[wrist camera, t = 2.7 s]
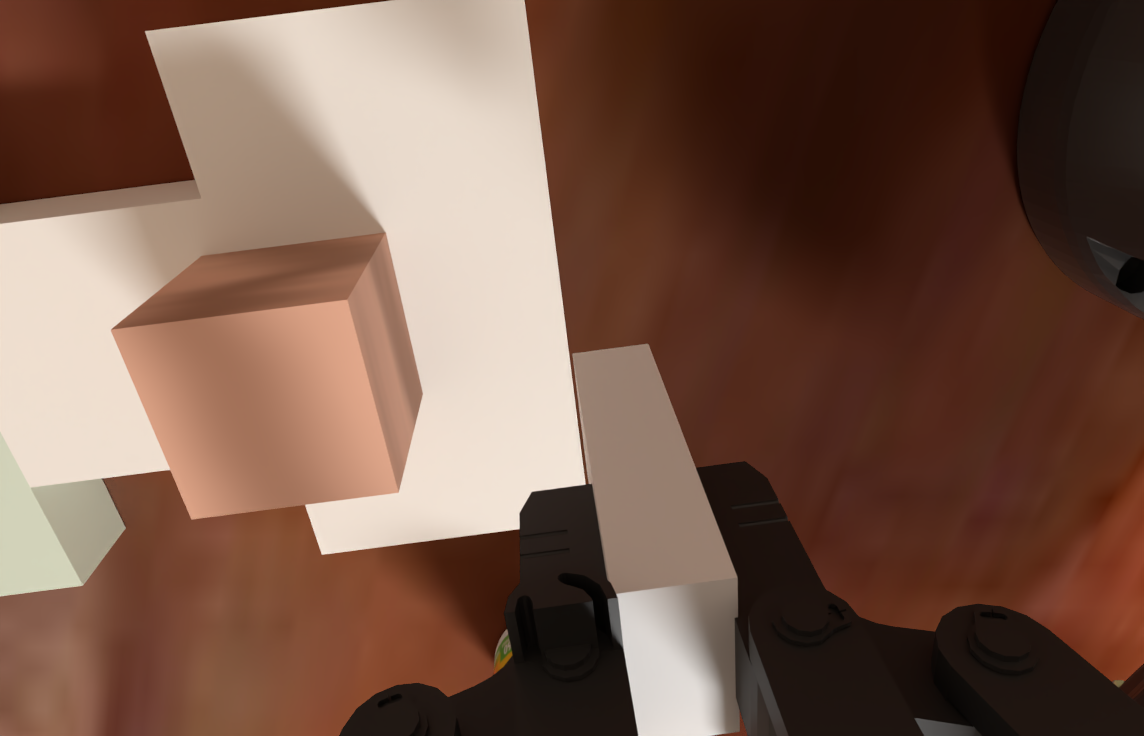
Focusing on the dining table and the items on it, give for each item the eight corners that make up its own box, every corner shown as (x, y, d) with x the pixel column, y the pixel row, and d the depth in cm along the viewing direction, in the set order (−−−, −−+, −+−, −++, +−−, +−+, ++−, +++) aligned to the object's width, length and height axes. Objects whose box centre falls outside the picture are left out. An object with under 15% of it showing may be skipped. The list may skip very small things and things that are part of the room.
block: (385, 232, 20) (347, 299, 16) (423, 393, 22) (398, 492, 18) (201, 255, 20) (110, 329, 16) (257, 414, 22) (191, 519, 18)
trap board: (522, -15, 20) (522, -18, 15) (583, 469, 28) (597, 571, 23) (-356, 95, 20) (-637, 126, 15) (-64, 552, 27) (-192, 673, 22)
